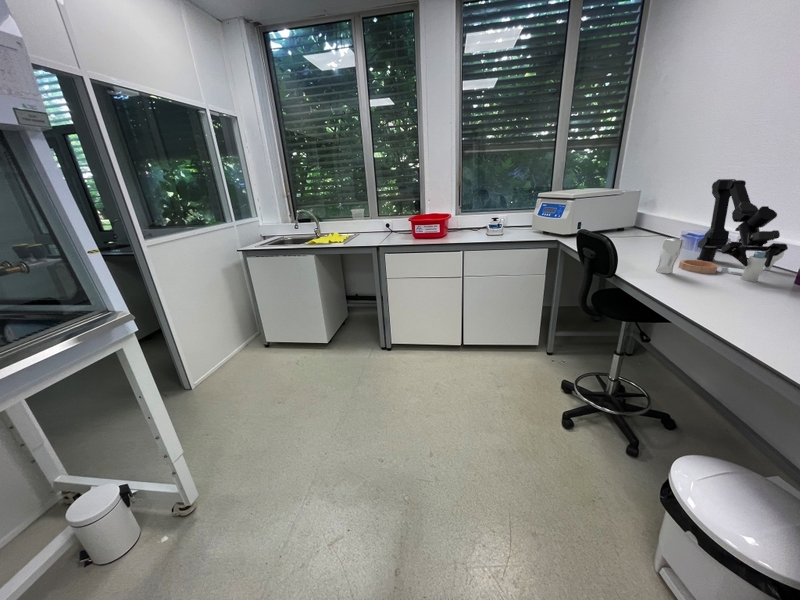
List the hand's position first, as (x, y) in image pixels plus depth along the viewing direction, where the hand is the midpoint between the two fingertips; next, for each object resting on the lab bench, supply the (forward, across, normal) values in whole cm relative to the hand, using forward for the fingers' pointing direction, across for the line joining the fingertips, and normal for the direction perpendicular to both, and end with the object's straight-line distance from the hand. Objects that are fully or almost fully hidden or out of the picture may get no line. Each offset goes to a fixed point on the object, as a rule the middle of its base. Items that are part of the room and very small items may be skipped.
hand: (757, 266), depth 130 cm
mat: (-4, +1, +13) cm, 14 cm away
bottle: (+4, 0, +6) cm, 7 cm away
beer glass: (0, -28, +10) cm, 30 cm away
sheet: (-4, +1, +13) cm, 14 cm away
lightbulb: (-9, +16, +19) cm, 26 cm away
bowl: (-5, -12, +15) cm, 20 cm away
